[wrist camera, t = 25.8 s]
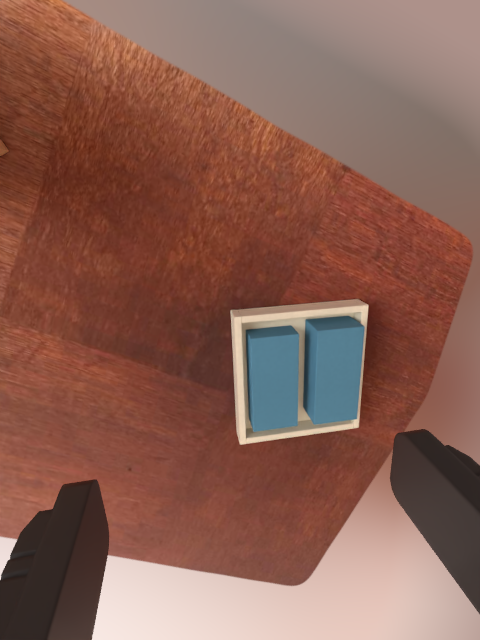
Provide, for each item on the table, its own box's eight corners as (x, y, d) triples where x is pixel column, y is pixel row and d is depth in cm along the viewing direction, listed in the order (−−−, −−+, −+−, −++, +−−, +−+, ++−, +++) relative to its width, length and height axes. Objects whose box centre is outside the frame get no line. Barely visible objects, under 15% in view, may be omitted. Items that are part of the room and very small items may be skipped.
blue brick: (291, 324, 43) (299, 333, 40) (290, 412, 47) (298, 426, 44) (245, 329, 42) (250, 338, 39) (248, 418, 46) (253, 432, 43)
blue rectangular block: (349, 315, 44) (365, 326, 40) (343, 402, 48) (357, 419, 44) (305, 319, 43) (317, 330, 39) (302, 407, 47) (313, 425, 43)
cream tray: (358, 298, 44) (368, 304, 42) (349, 416, 49) (358, 427, 47) (230, 310, 42) (234, 317, 39) (236, 432, 47) (240, 444, 45)
